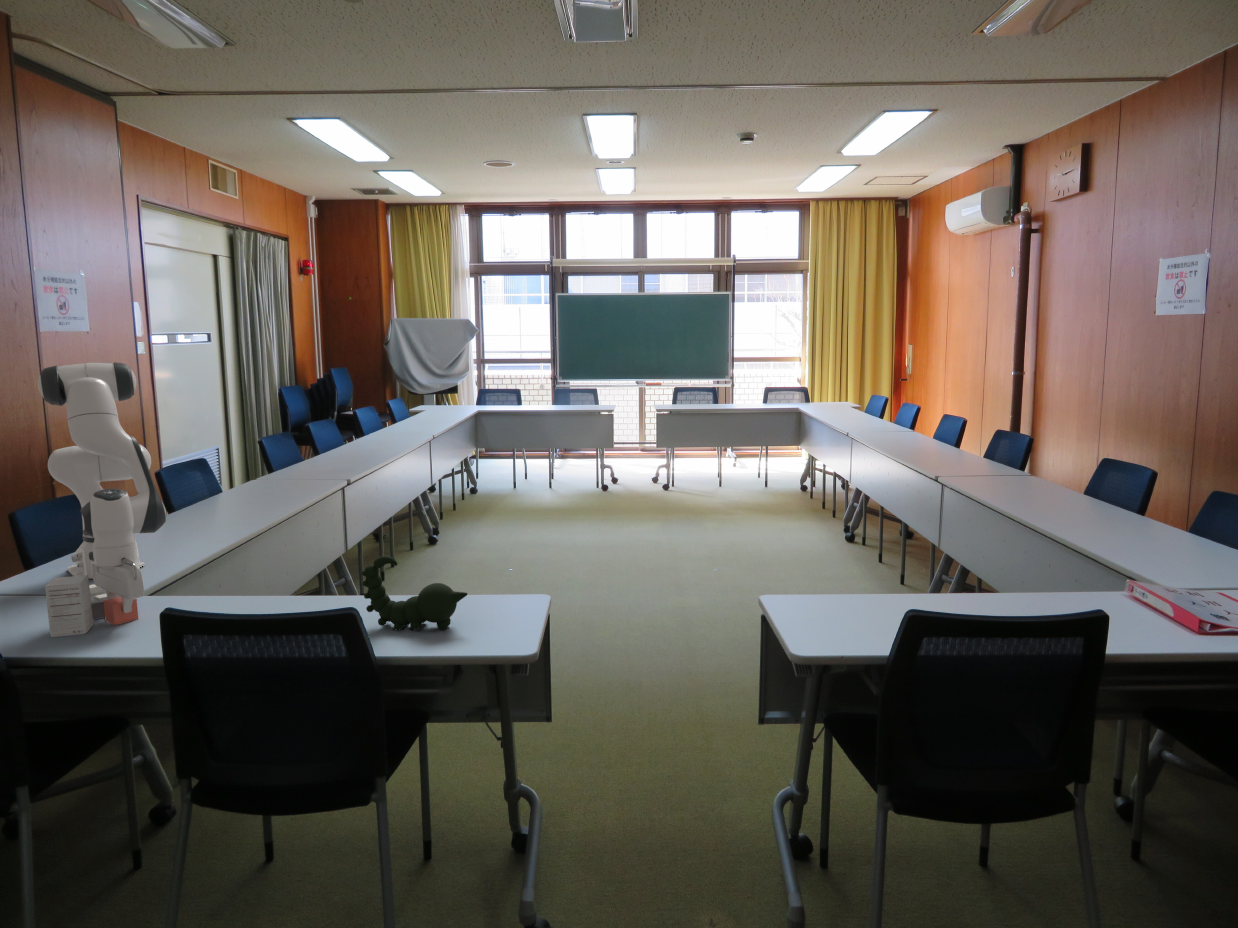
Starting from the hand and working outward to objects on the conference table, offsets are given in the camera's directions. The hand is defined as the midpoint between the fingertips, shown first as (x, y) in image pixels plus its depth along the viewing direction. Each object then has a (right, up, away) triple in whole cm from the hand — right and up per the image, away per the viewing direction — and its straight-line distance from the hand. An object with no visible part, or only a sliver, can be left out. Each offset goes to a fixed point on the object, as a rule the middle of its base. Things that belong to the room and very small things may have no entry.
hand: (120, 609), depth 198 cm
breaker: (-12, +1, +9) cm, 16 cm away
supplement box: (-7, -4, -7) cm, 11 cm away
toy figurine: (+75, -4, -5) cm, 75 cm away
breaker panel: (-10, -2, +8) cm, 13 cm away
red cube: (0, -3, 0) cm, 3 cm away
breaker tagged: (-8, -1, +6) cm, 10 cm away
